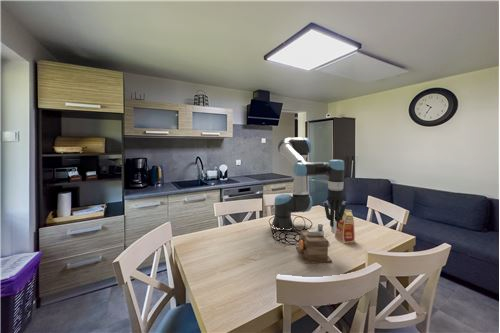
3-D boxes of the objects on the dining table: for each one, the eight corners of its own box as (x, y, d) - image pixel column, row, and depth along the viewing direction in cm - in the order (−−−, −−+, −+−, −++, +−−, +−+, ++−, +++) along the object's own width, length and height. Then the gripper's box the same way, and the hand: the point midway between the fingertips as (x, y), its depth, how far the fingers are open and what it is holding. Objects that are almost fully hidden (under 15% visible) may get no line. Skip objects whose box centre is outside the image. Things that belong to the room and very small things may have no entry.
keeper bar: (307, 233, 117) (307, 224, 117) (321, 233, 118) (322, 223, 117) (309, 236, 114) (309, 226, 114) (323, 235, 115) (324, 225, 114)
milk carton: (343, 243, 131) (345, 211, 129) (333, 237, 140) (335, 206, 138) (356, 241, 133) (358, 210, 131) (345, 235, 142) (347, 205, 140)
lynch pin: (298, 247, 119) (298, 238, 118) (326, 246, 120) (326, 237, 119) (301, 251, 114) (301, 242, 113) (330, 251, 115) (330, 241, 114)
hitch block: (296, 248, 125) (296, 229, 123) (319, 247, 125) (320, 229, 124) (304, 263, 109) (305, 242, 108) (332, 262, 110) (333, 241, 108)
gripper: (326, 190, 110) (324, 235, 112) (351, 190, 111) (349, 235, 113) (320, 187, 117) (319, 230, 120) (344, 187, 118) (342, 229, 121)
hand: (333, 232), depth 116 cm, fingers closed
